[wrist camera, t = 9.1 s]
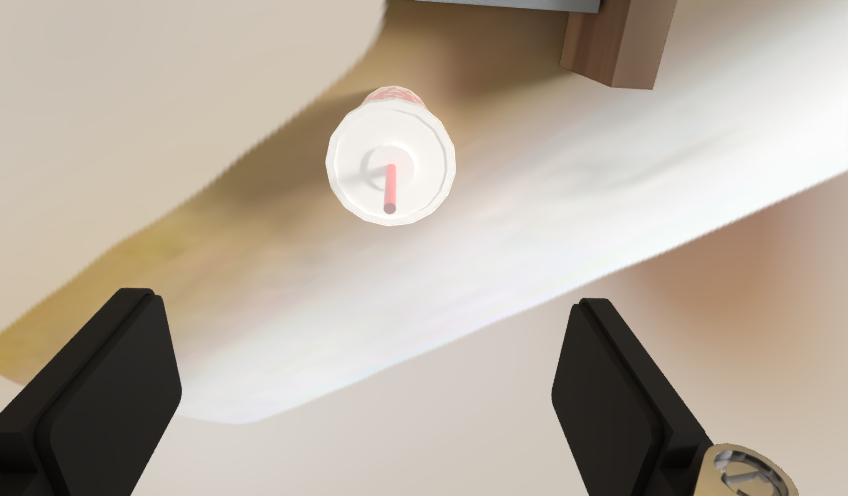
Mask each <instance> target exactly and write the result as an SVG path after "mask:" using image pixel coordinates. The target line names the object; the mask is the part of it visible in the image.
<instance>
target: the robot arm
mask: <svg viewBox="0 0 848 496" xmlns="http://www.w3.org/2000/svg"><path fill="white" fill-rule="evenodd" d="M181 395H182V387H181V382H180V377H179V373H178V368H177V363H176V359H175V354H174V349H173V345H172V340H171V335H170V331H169V326H168V321H167V317H166V312H165V307H164V303H163V299H162V297H161V296H159V295H155V293H154V292H153V290H151V289H150V288H121V289H119V290H118V291H117V292H116V293H115V294H114V295H113V296H112V297H111V298H110V299H109V300H108V301H107V302H106V303H105V304H104V305H103V307H102V308H101V309H100V310H99V311H98V312H97V313H96V314H95V315H94V316H93V317H92V318H91V319H90V320H89V321H88V322H87V323H86V324H85V325H84V326H83V327H82V328H81V329H80V330H79V332H78V333H77V334H76V335H75V336H74V337H73V338H72V339H71V340H70V341H69V342H68V343H67V344H66V345H65V346H64V347H63V348H62V349H61V350H60V351H59V352H58V353H57V354H56V355H55V357H54V358H53V359H52V360H51V361H50V362H49V363H48V364H47V365H46V366H45V367H44V368H43V369H42V370H41V371H40V372H39V373H38V374H37V375H36V376H35V377H34V378H33V379H32V380H31V382H30V383H29V384H28V385H27V386H26V387H25V388H24V389H23V390H22V391H21V392H20V393H19V394H18V395H17V396H16V397H15V398H14V399H13V400H12V401H11V402H10V403H9V404H8V406H7V407H6V408H5V409H4V410H3V411H2V412H1V413H0V496H130V495H131V493H132V491H133V490H134V488H135V486H136V484H137V482H138V480H139V478H140V476H141V475H142V473H143V471H144V469H145V467H146V465H147V463H148V462H149V460H150V458H151V456H152V454H153V452H154V450H155V448H156V447H157V445H158V443H159V441H160V439H161V437H162V435H163V433H164V431H165V430H166V428H167V426H168V424H169V422H170V420H171V418H172V417H173V415H174V413H175V411H176V409H177V407H178V405H179V403H180V400H181ZM551 395H552V404H553V407H554V409H555V412H556V414H557V417H558V419H559V422H560V424H561V427H562V429H563V432H564V434H565V437H566V439H567V442H568V444H569V447H570V449H571V452H572V454H573V457H574V459H575V462H576V464H577V467H578V469H579V471H580V474H581V477H582V479H583V482H584V484H585V487H586V489H587V492H588V494H589V496H799V493H798V490H797V488H796V486H795V485H794V483H793V481H792V480H791V478H790V477H789V476H788V475H787V474H786V473H785V472H784V471H783V470H782V469H781V468H780V467H779V466H777V465H776V464H775V463H773V462H772V461H771V460H769V459H768V458H766V457H765V456H763V455H761V454H759V453H757V452H756V451H754V450H751V449H748V448H746V447H743V446H740V445H734V444H728V443H727V444H726V443H725V444H716V445H714V444H713V443H712V441H711V440H710V439H709V437H708V436H707V435H706V433H705V431H704V429H703V428H702V426H701V425H700V424H699V422H698V421H697V419H696V418H695V417H694V416H693V414H692V413H691V411H690V410H689V409H688V407H687V406H686V405H685V403H684V402H683V400H682V399H681V398H680V396H679V395H678V394H677V392H676V391H675V389H674V388H673V387H672V385H671V384H670V383H669V381H668V380H667V379H666V377H665V376H664V374H663V373H662V372H661V370H660V369H659V368H658V366H657V365H656V364H655V362H654V361H653V359H652V358H651V357H650V355H649V354H648V353H647V351H646V350H645V349H644V347H643V346H642V344H641V343H640V342H639V340H638V339H637V338H636V336H635V335H634V333H633V332H632V331H631V329H630V328H629V327H628V325H627V324H626V322H625V321H624V320H623V319H622V317H621V316H620V314H619V313H618V312H617V310H616V309H615V308H614V306H613V305H612V303H611V302H610V301H609V300H608V299H605V298H582V299H581V300H580V302H579V304H574V305H573V306H572V308H571V312H570V316H569V320H568V324H567V329H566V333H565V337H564V341H563V345H562V349H561V353H560V358H559V362H558V366H557V370H556V375H555V379H554V383H553V387H552V394H551Z"/></svg>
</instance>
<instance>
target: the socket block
mask: <svg viewBox="0 0 848 496" xmlns="http://www.w3.org/2000/svg"><path fill="white" fill-rule="evenodd" d="M416 1H430V2H444V3H458V4H473V5H487V6H501V7H515V8H529V9H543V10H557V11H571V12H586V13H598V9H599V4H600V0H416Z"/></svg>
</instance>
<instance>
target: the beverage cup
mask: <svg viewBox="0 0 848 496" xmlns="http://www.w3.org/2000/svg"><path fill="white" fill-rule="evenodd" d="M325 163H326V168H327V173H328V178H329V183H330V187H331V188H332V190H333V191H334V193H335V194H336V196H337V197H338V199H339V200H340V201H341V203H342V204H343V206H344V207H345V208H347V209H348V210H349V211H351V212H352V213H354V214H355V215H357V216H358V217H360V218H361V219H363V220H364V221H368V222H372V223H376V224H380V225H384V226H395V225H404V224H412V223H414V222H416V221H418V220H420V219H421V218H423V217H425V216H427V215H429V214H431V213H433V212H434V211H435V210H436V208H437V207H438V206H439V205H440V204H441V203H442V201H443V200H444V199H445V198H446V197H447V196H448V194H449V191H450V189H451V186H452V183H453V180H454V177H455V174H456V164H455V151H454V145H453V143H452V141H451V140H450V138H449V136H448V134H447V132H446V130H445V128H444V126H443V124H442V123H441V121H440V120H439V119H438V118H436V117H435V116H434V115H433V114H431V113H430V112H429V111H428V110H427V108H426V106H425V105H424V103H423V102H422V100H421V99H420V98H419V97H418V96H417V95H415V94H414V93H413V92H412V91H411V90H409V89H405V88H402V87H399V86H388V87H381V88H379V89H377V90H375V91H374V92H372V93H370V94H369V95H368V96H367V97H366V99H365V100H364V101H363V103H362V104H361V105H360V106H359V107H358V108H356V109H354V110H353V111H351V112H349V113H348V114H347V115H346V116H345V118H344V119H343V120H342V122H341V123H340V124H339V126H338V127H337V129H336V130H335V131H334V133H333V134H332V136H331V137H330V142H329V147H328V152H327V156H326V161H325Z"/></svg>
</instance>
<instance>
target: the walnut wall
mask: <svg viewBox="0 0 848 496" xmlns="http://www.w3.org/2000/svg"><path fill="white" fill-rule="evenodd" d="M676 1H677V0H600V4H599V9H598V13H586V12H571V11H569V16H568V22H567V27H566V33H565V38H564V44H563V49H562V55H561V60H560V66H561V67H563V68H565V69H568V70H570V71H573V72H575V73H578V74H580V75H582V76H585V77H587V78H590V79H592V80H595V81H597V82H599V83H602V84H604V85H607V86H609V87H615V88H632V89H648V90H653V86H654V83H655V79H656V75H657V72H658V68H659V64H660V60H661V57H662V53H663V49H664V46H665V42H666V38H667V34H668V31H669V27H670V23H671V20H672V16H673V12H674V9H675V5H676Z"/></svg>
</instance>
